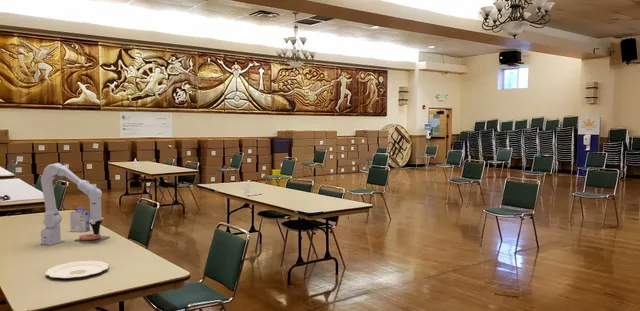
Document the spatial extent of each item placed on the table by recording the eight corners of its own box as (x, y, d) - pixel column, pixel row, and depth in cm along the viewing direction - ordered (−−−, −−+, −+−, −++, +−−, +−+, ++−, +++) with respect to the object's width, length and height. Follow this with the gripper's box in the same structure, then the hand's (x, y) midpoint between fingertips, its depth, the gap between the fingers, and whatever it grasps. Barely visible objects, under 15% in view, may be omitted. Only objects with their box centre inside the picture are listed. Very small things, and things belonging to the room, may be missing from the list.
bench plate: (93, 243, 266) (93, 241, 266) (73, 241, 270) (73, 239, 270) (109, 237, 278) (109, 236, 278) (90, 236, 282) (90, 234, 282)
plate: (92, 261, 232) (92, 257, 231) (119, 271, 216) (119, 267, 216) (36, 273, 212) (36, 269, 212) (60, 285, 196) (60, 281, 196)
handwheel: (77, 240, 266) (76, 230, 266) (82, 236, 277) (81, 226, 277) (98, 239, 269) (98, 229, 268) (102, 235, 280) (102, 225, 279)
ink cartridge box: (90, 230, 299) (89, 207, 298) (86, 232, 293) (85, 208, 292) (74, 229, 299) (74, 206, 298) (70, 231, 293) (69, 208, 292)
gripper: (100, 212, 263) (101, 236, 264) (106, 207, 277) (106, 231, 278) (86, 212, 262) (87, 237, 262) (92, 208, 276) (93, 231, 277)
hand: (96, 234), depth 270 cm, fingers closed
